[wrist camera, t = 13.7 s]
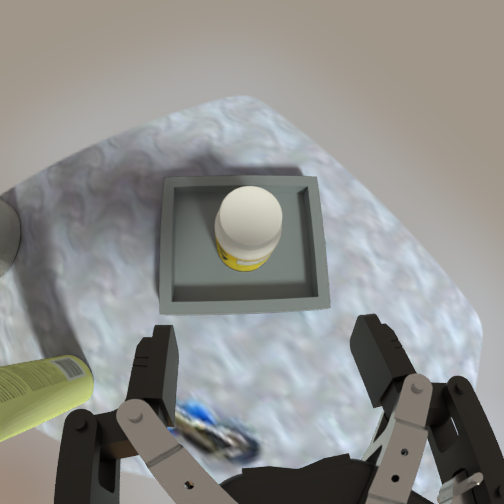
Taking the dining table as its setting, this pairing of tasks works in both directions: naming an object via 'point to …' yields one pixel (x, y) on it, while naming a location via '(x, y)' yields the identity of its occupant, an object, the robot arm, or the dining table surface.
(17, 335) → the dining table surface
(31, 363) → the tube
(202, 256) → the tray
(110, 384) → the dining table surface
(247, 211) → the supplement bottle
